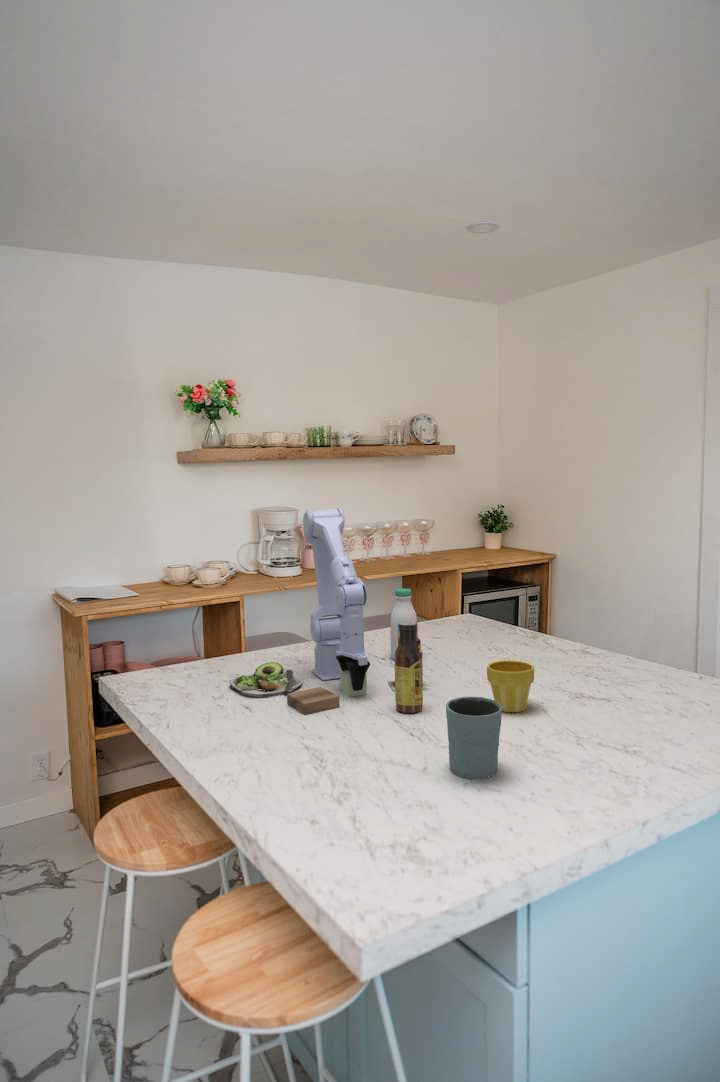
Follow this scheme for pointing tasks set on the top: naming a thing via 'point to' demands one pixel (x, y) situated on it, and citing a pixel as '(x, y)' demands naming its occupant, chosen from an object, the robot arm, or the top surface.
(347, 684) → the sage cube
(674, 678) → the top surface
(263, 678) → the salad plate
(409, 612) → the milk bottle
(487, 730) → the grey blue cup
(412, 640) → the sauce bottle
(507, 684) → the plant pot
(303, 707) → the walnut block
